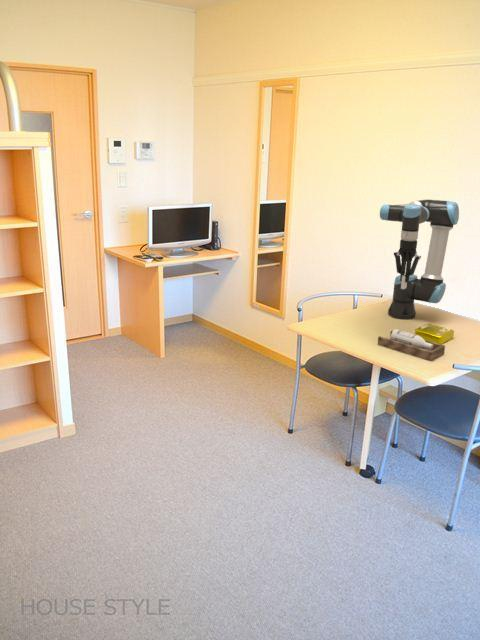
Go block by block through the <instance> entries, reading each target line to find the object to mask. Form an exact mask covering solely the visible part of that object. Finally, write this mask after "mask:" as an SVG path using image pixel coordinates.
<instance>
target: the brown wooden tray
mask: <svg viewBox="0 0 480 640" xmlns="http://www.w3.org/2000/svg"><path fill="white" fill-rule="evenodd" d="M393 331H394V330H390V332H389V338H387V337H385V336H378V337H377V346H380V347H384V348H387V349H391V350H394V351H396V352H400V353H403V354H405V355H410V356H413V357H416V358H420V359H423V360H426V361H429V362H432V361H434V360H436V359H438V358H439V357H441V356H442V355H444V354H445V349H446V345H444V344H438V343H434V342H430V341H427V340H425V342H427V343H430V344H433V345H434V346H433V349H432V350H428V349H425V348H423V349H422V348H418V347H415V346H411V345H408V344H405V343H401V342H398V341H394V340H391V339H390V337H391V334H392V332H393Z"/></svg>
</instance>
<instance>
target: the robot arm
mask: <svg viewBox="0 0 480 640" xmlns="http://www.w3.org/2000/svg"><path fill="white" fill-rule="evenodd" d="M379 217H380V220H381V221H387V222H388V221H389V222H399V223H402V224H401V231H400V232H401V233H400V241H399V249H398V251H395V252H393V255H394V259H395V267H396V274H400V275H397V276H396V277H394V278H395V279H394V284H393V292H392V293H393V294H392V301H391V303H390V306H389V308H388V310H387V315H388V316H389V317H391V318H393V319H394V318H395V319H397V320H398V319H400V320H411V319H415V318H416V317H417V315H416V313H417V311H416V307H415V301H421V302H424V303H425V302H426V303H428V304H439V303H440V302H441V300H443V298H444V295H445V292H446V289H447V284H446V283H445V282H444V278H443V277H442V273H443V267H444V261H445V256H446V250H447V246H448V241H449V235H450V231H451V230H453V229H454V226H455V225H457V224H458V222H459V217H460V208H459V204H458V203H457V202H456V201H450V200H439V199H421V200H415V201H411V202H409V203H404V204H403V203H401V204H382V206H381V207H380V209H379ZM425 222H426V223H427V222H428V223H429V226H430V227H431V236H430V241H429V246H428V252H427V257H426V263H425V269H424V274H422V275H421V276H420V278H418V276H417V274H414V273H415V272H416V268H417V266H418V263H419V261H420V260H421V258H422V255H419V254H418V253H417V246H418V239H419V228H420V224H423V223H425ZM413 259H414V260H413Z"/></svg>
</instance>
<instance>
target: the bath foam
mask: <svg viewBox="0 0 480 640" xmlns="http://www.w3.org/2000/svg"><path fill="white" fill-rule="evenodd" d="M392 331H393V332H392V334H391V337H390V336H389V339H391V340H394V341H398V342H401V343H405V344H408V345H411V346H415V347H418V348H422V349H423V348H425V349H428V350H432V349H433V346H434V345H433V344H430V343H427V342H425V340H424V339H423V338H422V337H420V336H418V335H415V333H411V332H408V331H404V330H401V329H397V328H395V329H393V330H392Z"/></svg>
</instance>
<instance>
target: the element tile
mask: <svg viewBox="0 0 480 640" xmlns="http://www.w3.org/2000/svg"><path fill="white" fill-rule="evenodd" d="M414 334H415V335H418V336H420V337H422V338H423V339H424V340H427V341H430V342H434V343H438V344H441V345H444V344H445V343H447V342H449V341H451V340H453V339H454V335H455V330H453V329H451V328H447V327H443V326H439V325H436V324H432V323H425V324H424V325H422V326H420V327H418V328H415V329H414Z"/></svg>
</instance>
